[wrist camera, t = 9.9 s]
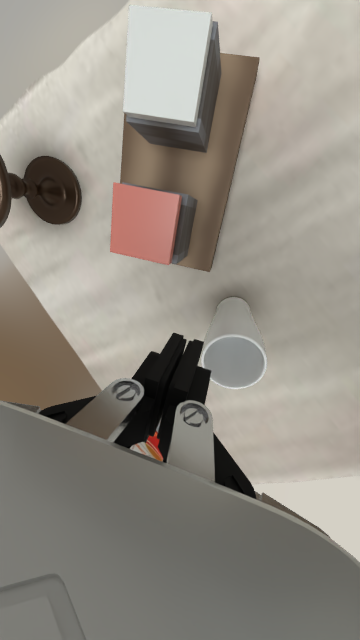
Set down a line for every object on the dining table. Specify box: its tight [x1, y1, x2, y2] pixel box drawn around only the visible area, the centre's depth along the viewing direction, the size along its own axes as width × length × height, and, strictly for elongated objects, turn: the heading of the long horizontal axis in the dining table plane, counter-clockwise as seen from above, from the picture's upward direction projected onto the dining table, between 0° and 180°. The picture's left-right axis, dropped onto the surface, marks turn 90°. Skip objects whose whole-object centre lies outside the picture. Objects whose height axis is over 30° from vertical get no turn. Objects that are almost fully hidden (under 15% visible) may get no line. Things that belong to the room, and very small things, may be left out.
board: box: [120, 21, 259, 272], centre depth 27 cm, size 14×22×10 cm, turn 170°
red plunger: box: [110, 183, 182, 265], centre depth 26 cm, size 6×6×8 cm
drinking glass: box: [201, 297, 267, 389], centre depth 30 cm, size 7×7×15 cm
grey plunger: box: [123, 5, 213, 127], centre depth 22 cm, size 6×6×8 cm
